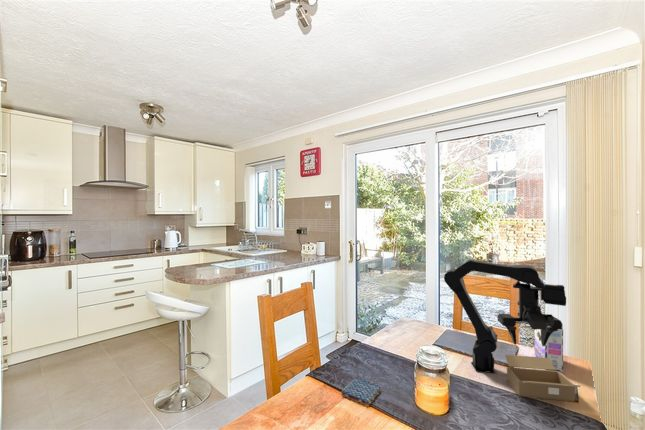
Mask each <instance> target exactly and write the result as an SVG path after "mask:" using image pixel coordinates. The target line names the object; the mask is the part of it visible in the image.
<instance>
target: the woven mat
mask: <svg viewBox="0 0 645 430" xmlns="http://www.w3.org/2000/svg"><path fill="white" fill-rule="evenodd" d="M381 392H382V389H381V386H379V384H376V385H375V383H371V382H370V381H367V380H362V378H361V379H359V378H358V377H355V378H354V379H353V380H352V381H350V382H349V383H348V385H346V387H344V388H343V389H342V390H341V396H342V397H345V398H346V399H349V400H352V401H353V402H357V403H359V404H362V405H364V406H366V407H367V406H368V407H370V405H371V404H372V403H373V401H375V398H376V397H377V396H378V395H379V394H381Z"/></svg>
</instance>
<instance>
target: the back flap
mask: <svg viewBox="0 0 645 430" xmlns="http://www.w3.org/2000/svg"><path fill="white" fill-rule="evenodd" d="M504 357H505V360H506V362H507V367H513V368H526V369H538V370H550V371H554V370H555V369H554V367H553V365H552V362H551V360H550V358H542V357H536V356H528V355H527V356H525V355H514V354H505V356H504Z"/></svg>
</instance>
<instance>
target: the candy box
mask: <svg viewBox="0 0 645 430" xmlns="http://www.w3.org/2000/svg"><path fill="white" fill-rule="evenodd" d="M534 355H535V357H542V358H550V360H551V362H552V365H553V367H554V369H555V370H553V371H558V372H561V373H564V328H563V329H558V331H555V332H553V333H551V335H550V336H549V338H548V341H547V343H546V345H545V346H542V343H541V329H537V330H535V329H534Z"/></svg>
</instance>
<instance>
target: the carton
mask: <svg viewBox="0 0 645 430" xmlns="http://www.w3.org/2000/svg"><path fill="white" fill-rule="evenodd" d="M506 381H507V383H508V384H509V385H510V386H511V388H512V389H513V391H514V392H515V393H516V394H517V397H519V398H520V397H522V398H532V399H541V400H542V399H544V400H552V401H553V400H554V401H564V402H572V403H574V402H573V401H575V402H576V387H564V386H553V385H542V384H531V383H523V382H522V381H536V382H547V383H558V384H570V385H575V383H573V382H572V381H571V379H569V378H567V376H565V375H564V374H563V372H560V371H554V370H545V369H533V368H521V367H509V366H507V367H506Z"/></svg>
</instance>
